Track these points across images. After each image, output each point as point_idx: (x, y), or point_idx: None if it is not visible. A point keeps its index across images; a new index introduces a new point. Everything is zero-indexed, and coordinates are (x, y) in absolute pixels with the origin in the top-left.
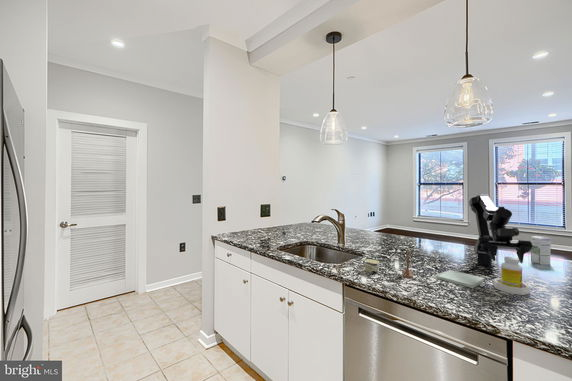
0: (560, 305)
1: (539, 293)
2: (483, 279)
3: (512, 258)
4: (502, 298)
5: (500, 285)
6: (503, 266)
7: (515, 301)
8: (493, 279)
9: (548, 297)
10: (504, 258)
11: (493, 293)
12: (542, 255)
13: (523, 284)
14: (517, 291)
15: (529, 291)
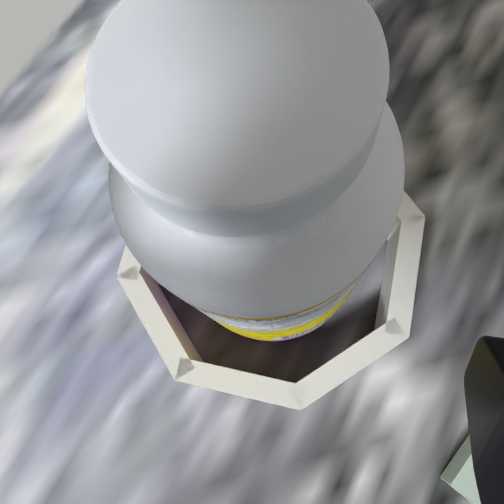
0: (100, 22)
1: (78, 219)
2: (462, 459)
3: (219, 58)
4: (452, 30)
5: None
6: (396, 130)
7: (378, 3)
8: (408, 335)
9: (71, 147)
10: (385, 101)
11: (483, 113)
12: None
13: (143, 269)
14: None
15: None
